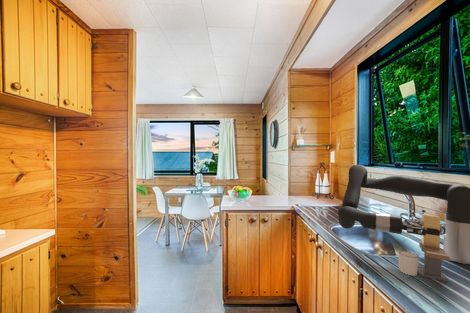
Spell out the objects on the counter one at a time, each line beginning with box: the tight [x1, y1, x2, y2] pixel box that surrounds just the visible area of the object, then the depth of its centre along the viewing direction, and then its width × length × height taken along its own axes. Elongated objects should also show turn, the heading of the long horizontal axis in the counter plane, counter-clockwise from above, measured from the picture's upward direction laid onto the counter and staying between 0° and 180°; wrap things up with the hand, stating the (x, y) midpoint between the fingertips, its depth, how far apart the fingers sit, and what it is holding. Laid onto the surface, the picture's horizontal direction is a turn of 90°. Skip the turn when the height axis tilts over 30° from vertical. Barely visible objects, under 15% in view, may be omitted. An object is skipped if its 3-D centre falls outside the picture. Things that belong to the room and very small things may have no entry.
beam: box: [418, 241, 451, 262], centre depth 92 cm, size 20×7×2 cm, turn 149°
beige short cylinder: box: [397, 250, 421, 276], centre depth 95 cm, size 7×7×7 cm
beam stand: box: [417, 252, 448, 283], centre depth 92 cm, size 5×8×8 cm, turn 59°
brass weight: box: [421, 213, 441, 249], centre depth 97 cm, size 5×5×12 cm
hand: (437, 230), depth 96 cm, fingers open, 7 cm apart
